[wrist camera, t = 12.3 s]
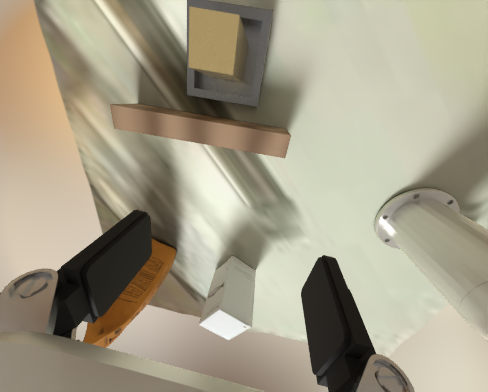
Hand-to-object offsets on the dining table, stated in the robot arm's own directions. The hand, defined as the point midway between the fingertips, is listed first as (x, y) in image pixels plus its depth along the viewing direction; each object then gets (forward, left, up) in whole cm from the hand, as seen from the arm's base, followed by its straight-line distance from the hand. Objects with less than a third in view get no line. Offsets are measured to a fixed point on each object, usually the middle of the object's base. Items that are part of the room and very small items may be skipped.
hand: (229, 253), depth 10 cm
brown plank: (+8, -3, -24) cm, 25 cm away
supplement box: (0, +29, -24) cm, 38 cm away
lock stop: (+5, -12, -23) cm, 26 cm away
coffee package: (+20, +29, -24) cm, 43 cm away
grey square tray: (+6, -12, -24) cm, 27 cm away
